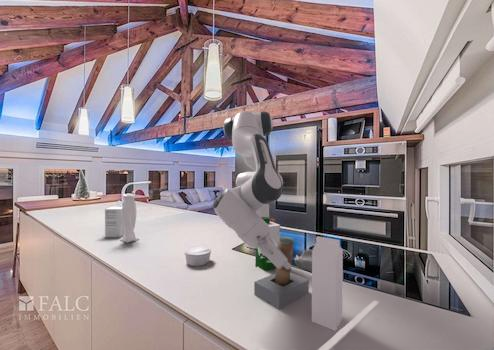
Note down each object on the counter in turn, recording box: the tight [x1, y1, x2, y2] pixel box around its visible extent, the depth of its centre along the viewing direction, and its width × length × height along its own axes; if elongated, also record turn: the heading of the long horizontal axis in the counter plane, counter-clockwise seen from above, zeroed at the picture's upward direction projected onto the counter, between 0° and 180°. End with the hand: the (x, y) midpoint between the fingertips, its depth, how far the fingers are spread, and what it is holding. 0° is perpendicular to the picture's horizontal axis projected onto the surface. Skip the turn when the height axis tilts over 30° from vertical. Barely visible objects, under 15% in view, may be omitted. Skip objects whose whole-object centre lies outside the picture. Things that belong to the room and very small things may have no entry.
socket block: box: [253, 271, 310, 310], centre depth 72 cm, size 14×10×5 cm
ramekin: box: [184, 245, 212, 267], centre depth 100 cm, size 11×11×5 cm
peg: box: [275, 235, 295, 287], centre depth 72 cm, size 4×4×17 cm
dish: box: [294, 249, 313, 273], centre depth 96 cm, size 14×14×5 cm
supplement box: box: [104, 206, 124, 238], centre depth 142 cm, size 10×9×17 cm
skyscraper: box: [119, 190, 140, 244], centre depth 130 cm, size 8×8×28 cm
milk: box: [311, 235, 344, 332], centre depth 60 cm, size 6×6×22 cm
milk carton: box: [254, 217, 281, 272], centre depth 94 cm, size 9×9×20 cm
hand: (286, 263), depth 73 cm, fingers closed on peg, 4 cm apart
